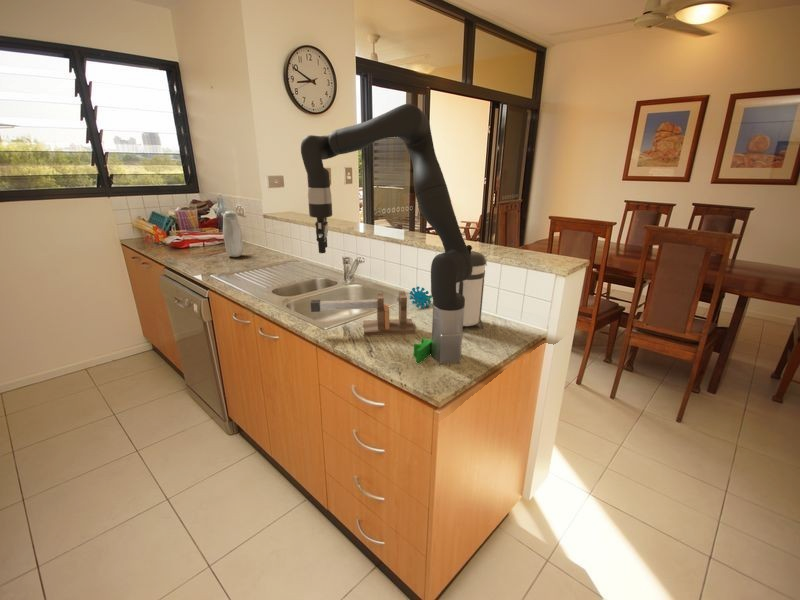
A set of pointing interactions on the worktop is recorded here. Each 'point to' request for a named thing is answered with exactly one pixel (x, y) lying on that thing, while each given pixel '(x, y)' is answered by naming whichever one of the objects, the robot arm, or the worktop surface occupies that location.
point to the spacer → (386, 316)
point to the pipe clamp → (422, 349)
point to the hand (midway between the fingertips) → (323, 250)
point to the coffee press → (473, 289)
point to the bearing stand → (395, 325)
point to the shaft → (342, 304)
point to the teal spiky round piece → (420, 297)
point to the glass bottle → (232, 234)
